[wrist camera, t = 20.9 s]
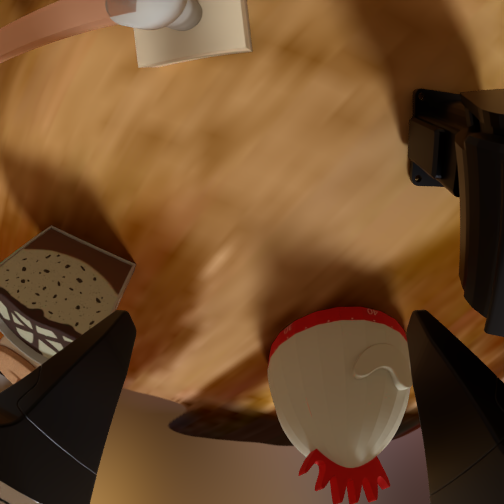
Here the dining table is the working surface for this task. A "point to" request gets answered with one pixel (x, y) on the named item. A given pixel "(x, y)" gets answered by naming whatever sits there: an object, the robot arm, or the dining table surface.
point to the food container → (58, 291)
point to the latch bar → (83, 21)
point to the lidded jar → (14, 362)
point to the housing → (197, 34)
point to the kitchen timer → (341, 394)
